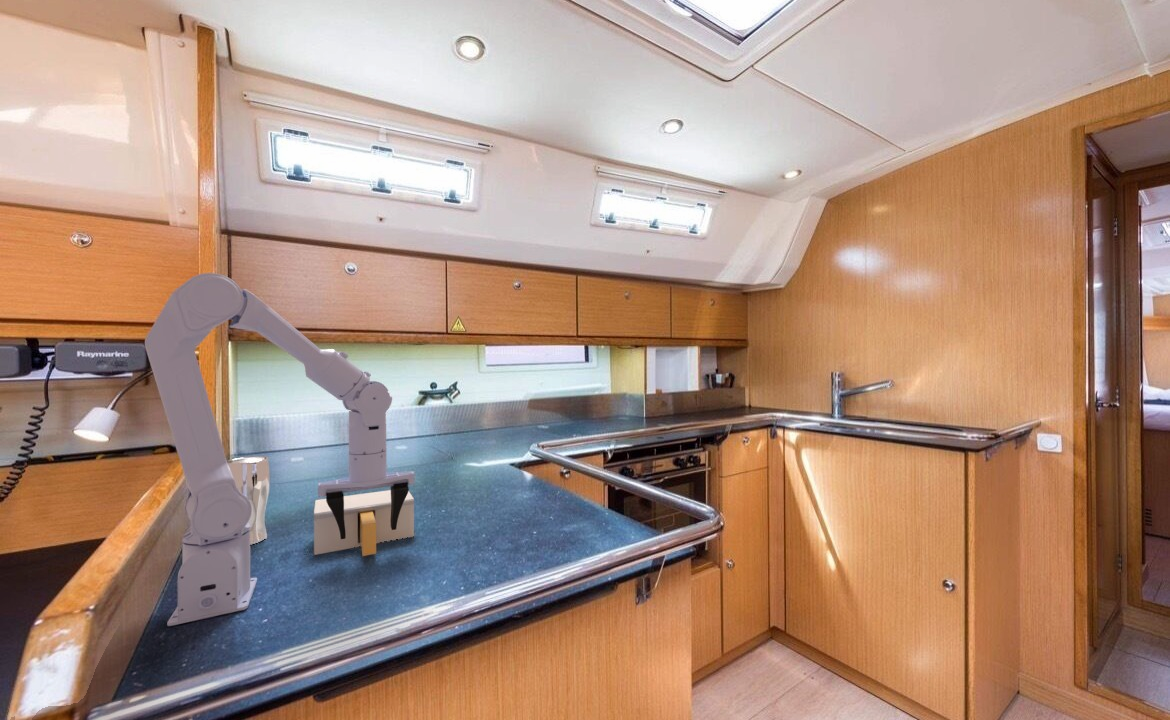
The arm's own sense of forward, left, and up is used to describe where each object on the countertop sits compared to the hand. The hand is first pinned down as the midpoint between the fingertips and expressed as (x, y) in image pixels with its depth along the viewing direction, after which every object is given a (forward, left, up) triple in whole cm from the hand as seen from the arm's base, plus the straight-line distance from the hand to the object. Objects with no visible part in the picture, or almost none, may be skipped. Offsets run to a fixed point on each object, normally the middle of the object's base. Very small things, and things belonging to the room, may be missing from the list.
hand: (368, 532), depth 76 cm
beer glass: (+18, +19, -4) cm, 27 cm away
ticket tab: (+5, 0, -3) cm, 5 cm away
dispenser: (+9, 0, -4) cm, 10 cm away
